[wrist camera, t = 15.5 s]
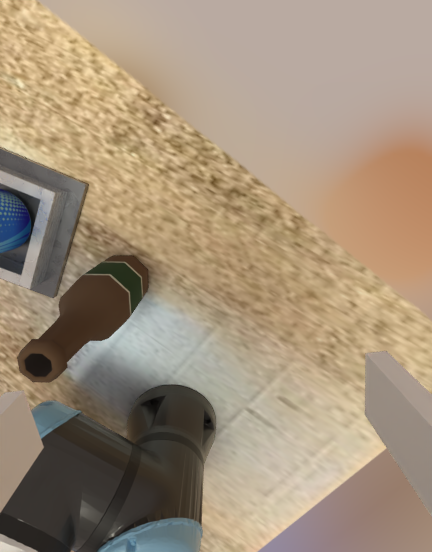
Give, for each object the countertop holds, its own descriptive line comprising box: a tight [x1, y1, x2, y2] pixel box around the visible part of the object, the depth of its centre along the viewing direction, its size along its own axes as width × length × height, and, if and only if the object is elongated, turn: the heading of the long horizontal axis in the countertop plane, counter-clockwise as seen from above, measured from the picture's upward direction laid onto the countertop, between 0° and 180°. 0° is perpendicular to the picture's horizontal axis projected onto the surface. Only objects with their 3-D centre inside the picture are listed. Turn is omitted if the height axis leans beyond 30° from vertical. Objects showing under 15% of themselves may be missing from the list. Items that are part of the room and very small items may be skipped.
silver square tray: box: [0, 147, 89, 298], centre depth 42 cm, size 18×18×4 cm
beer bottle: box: [17, 256, 148, 382], centre depth 35 cm, size 8×8×24 cm
